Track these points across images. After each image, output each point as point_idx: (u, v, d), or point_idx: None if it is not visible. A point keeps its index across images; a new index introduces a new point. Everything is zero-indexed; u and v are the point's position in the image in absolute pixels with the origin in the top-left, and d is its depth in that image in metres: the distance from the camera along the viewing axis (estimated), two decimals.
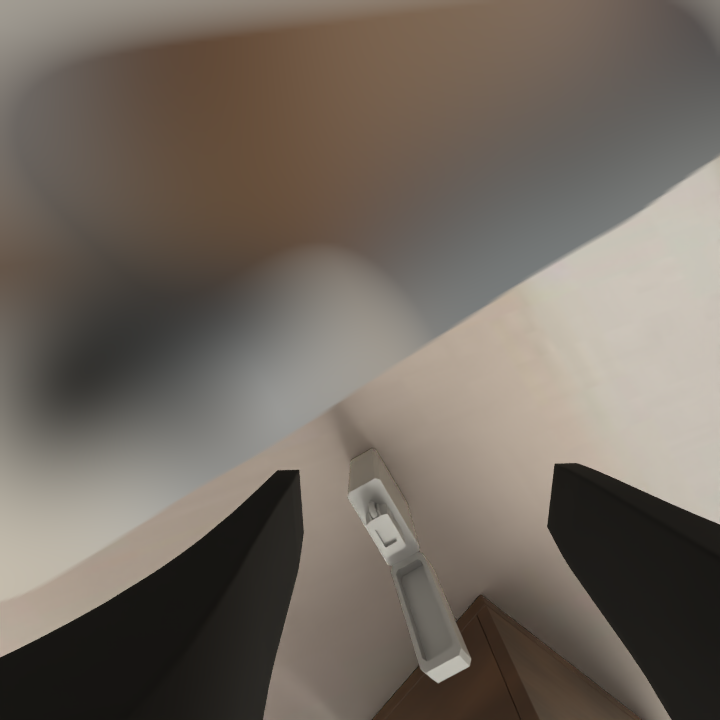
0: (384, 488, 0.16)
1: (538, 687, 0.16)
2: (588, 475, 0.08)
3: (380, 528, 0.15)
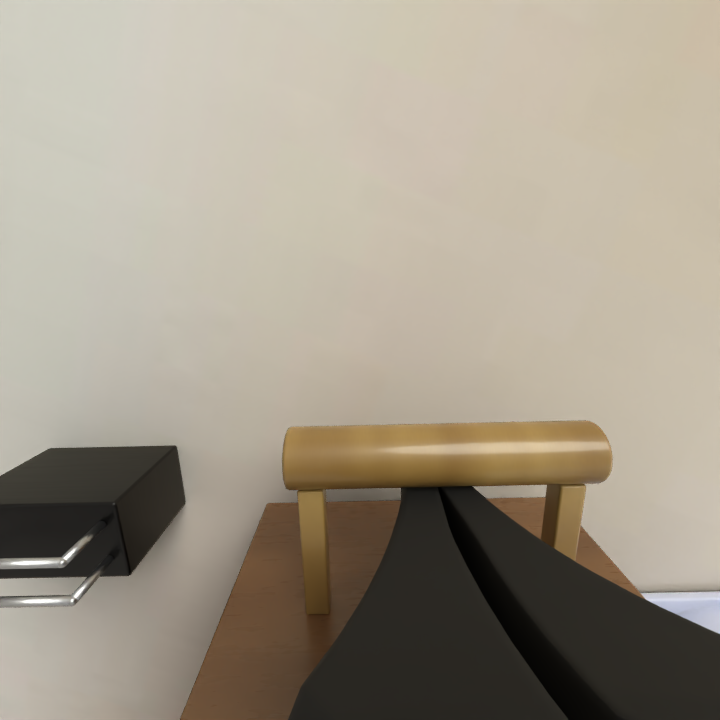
0: None
1: None
2: None
3: None
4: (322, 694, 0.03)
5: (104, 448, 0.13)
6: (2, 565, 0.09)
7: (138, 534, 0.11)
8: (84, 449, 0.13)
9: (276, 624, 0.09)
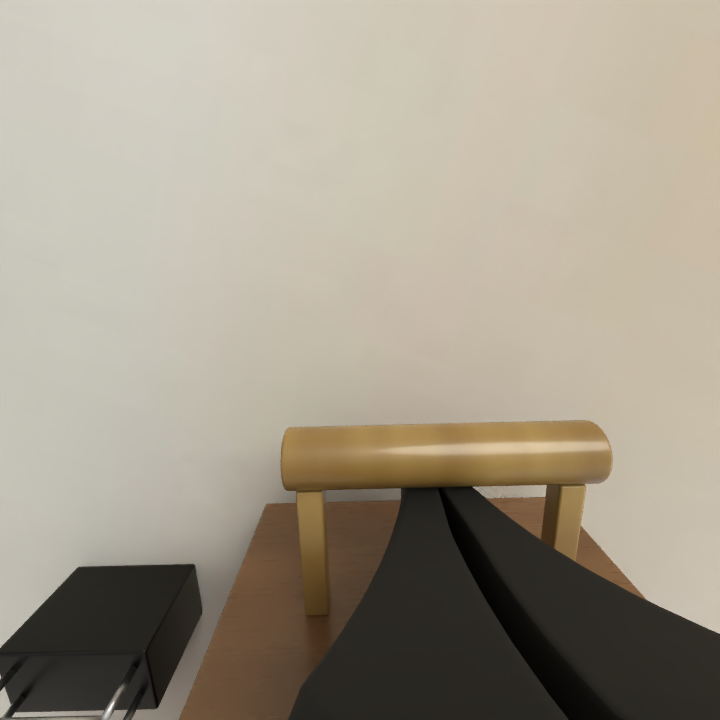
0: None
1: None
2: None
3: None
4: (323, 695, 0.03)
5: (128, 568, 0.15)
6: None
7: (164, 667, 0.12)
8: (110, 569, 0.15)
9: (275, 625, 0.09)
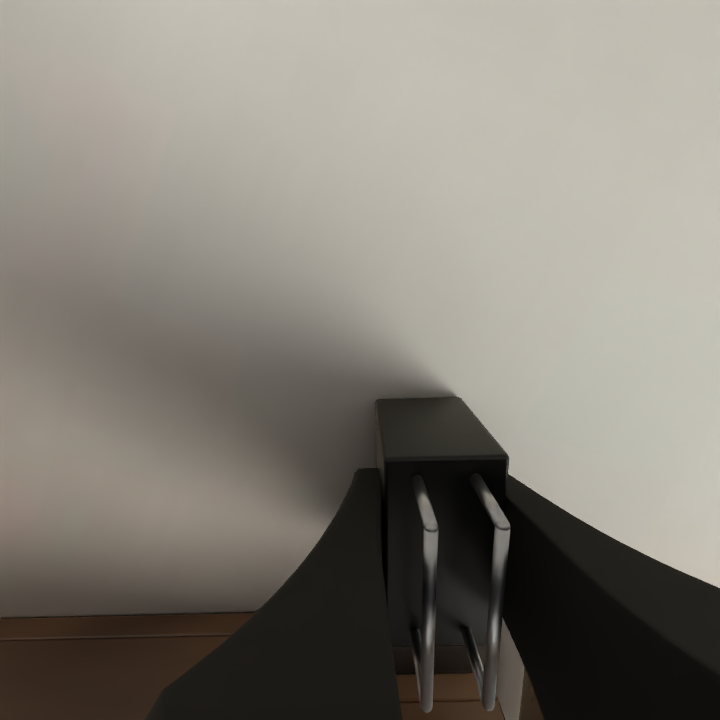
0: None
1: None
2: None
3: None
4: (175, 698, 0.03)
5: None
6: (496, 651, 0.06)
7: None
8: None
9: None
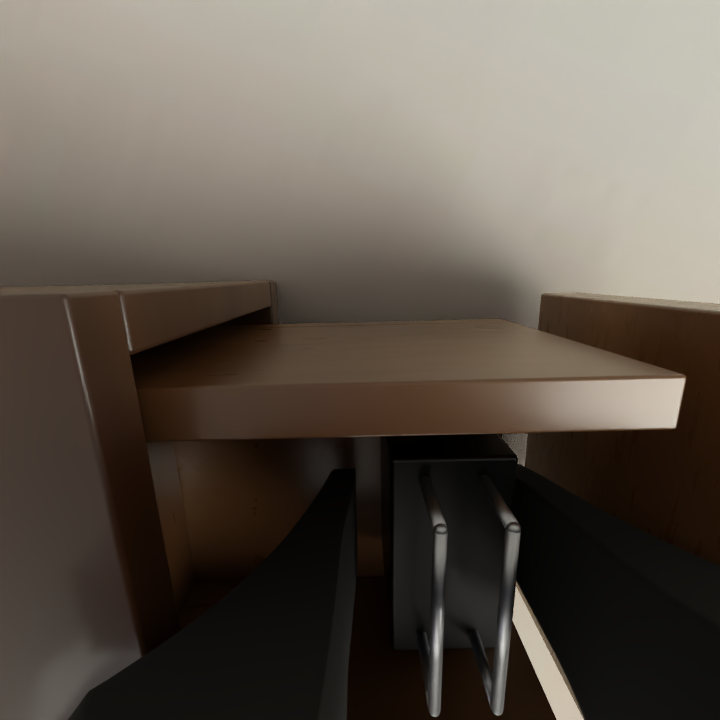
0: None
1: None
2: (524, 476, 0.08)
3: None
4: (99, 699, 0.03)
5: None
6: (506, 654, 0.06)
7: None
8: None
9: None
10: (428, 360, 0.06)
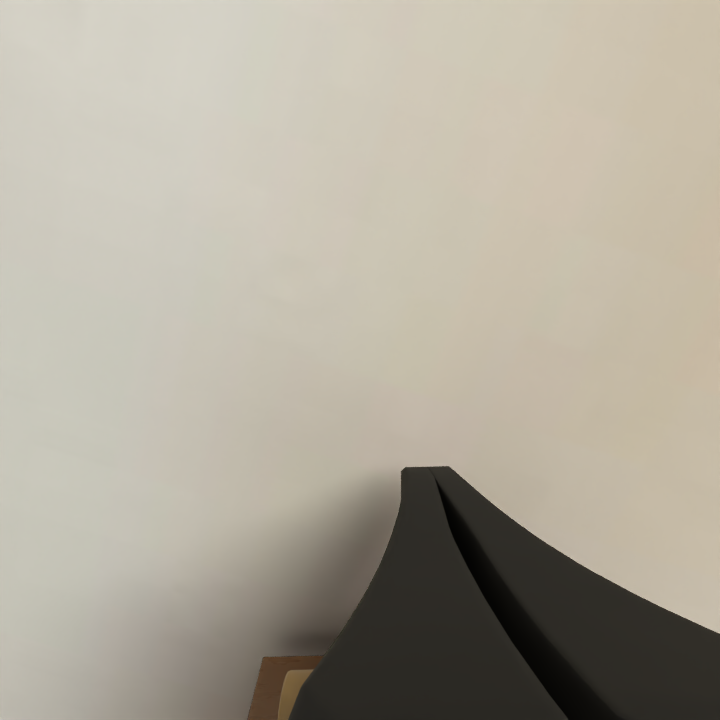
0: None
1: None
2: (444, 478, 0.08)
3: None
4: (323, 695, 0.03)
5: None
6: None
7: None
8: None
9: None
10: None
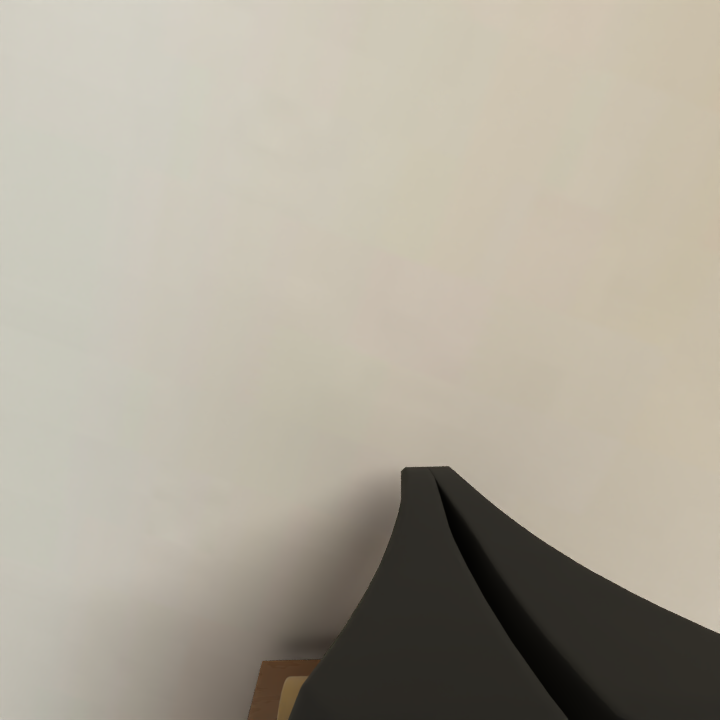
0: None
1: None
2: (444, 478, 0.08)
3: None
4: (323, 694, 0.03)
5: None
6: None
7: None
8: None
9: None
10: None
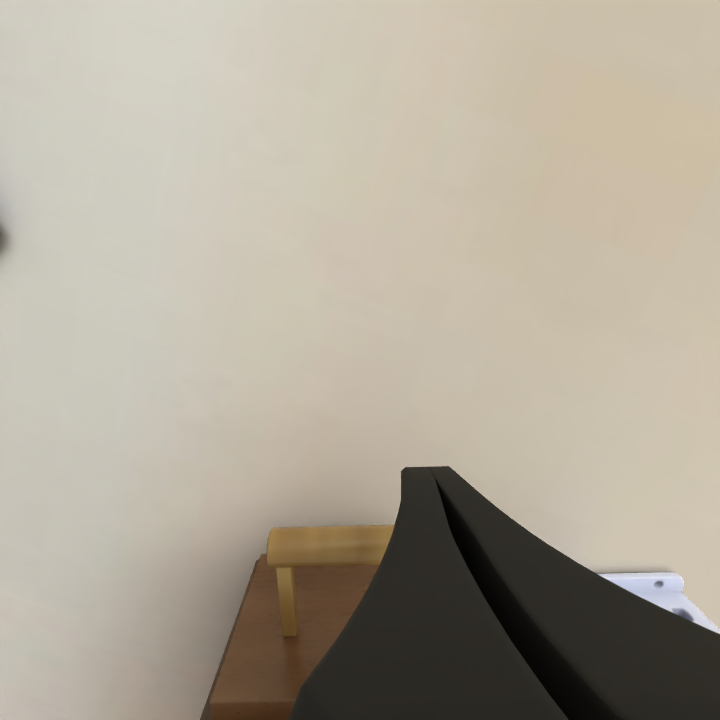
0: None
1: None
2: (444, 478, 0.08)
3: None
4: (323, 694, 0.03)
5: None
6: None
7: None
8: None
9: (264, 643, 0.14)
10: None
